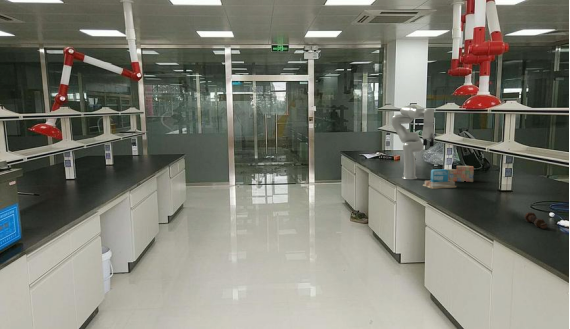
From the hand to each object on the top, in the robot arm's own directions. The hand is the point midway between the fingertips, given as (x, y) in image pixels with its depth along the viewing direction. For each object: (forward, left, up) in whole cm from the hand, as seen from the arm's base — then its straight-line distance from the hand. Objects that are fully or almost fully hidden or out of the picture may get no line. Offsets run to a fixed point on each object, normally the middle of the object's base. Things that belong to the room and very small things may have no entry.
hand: (428, 145), depth 326 cm
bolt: (+122, -10, -31) cm, 126 cm away
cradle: (+14, +2, -30) cm, 33 cm away
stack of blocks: (-3, +30, -31) cm, 43 cm away
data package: (+14, +2, -30) cm, 33 cm away
